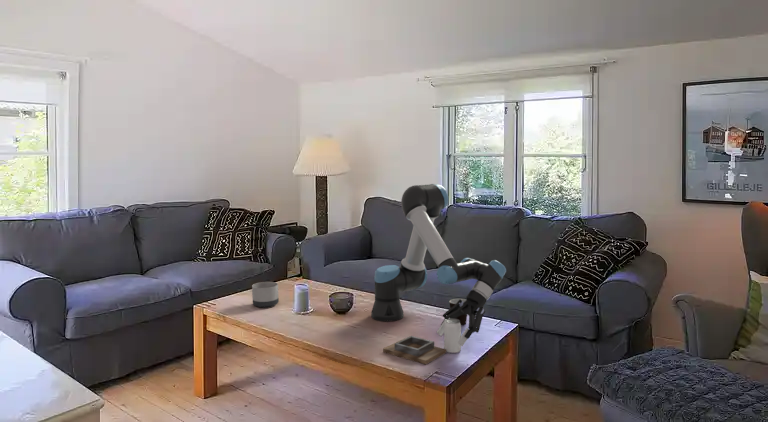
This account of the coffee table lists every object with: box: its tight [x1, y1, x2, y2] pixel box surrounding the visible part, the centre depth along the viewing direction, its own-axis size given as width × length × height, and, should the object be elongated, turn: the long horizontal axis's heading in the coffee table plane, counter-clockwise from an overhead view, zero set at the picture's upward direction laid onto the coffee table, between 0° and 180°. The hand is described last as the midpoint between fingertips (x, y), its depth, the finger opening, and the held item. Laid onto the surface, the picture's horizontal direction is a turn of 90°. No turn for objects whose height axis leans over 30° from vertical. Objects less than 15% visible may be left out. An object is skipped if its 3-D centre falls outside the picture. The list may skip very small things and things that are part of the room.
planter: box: [251, 281, 280, 308], centre depth 278 cm, size 13×13×10 cm
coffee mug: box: [448, 298, 468, 326], centre depth 249 cm, size 12×9×10 cm
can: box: [443, 319, 462, 354], centre depth 215 cm, size 6×6×12 cm
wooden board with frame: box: [382, 335, 447, 365], centre depth 213 cm, size 20×14×4 cm
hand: (448, 339), depth 213 cm, fingers open, 12 cm apart
